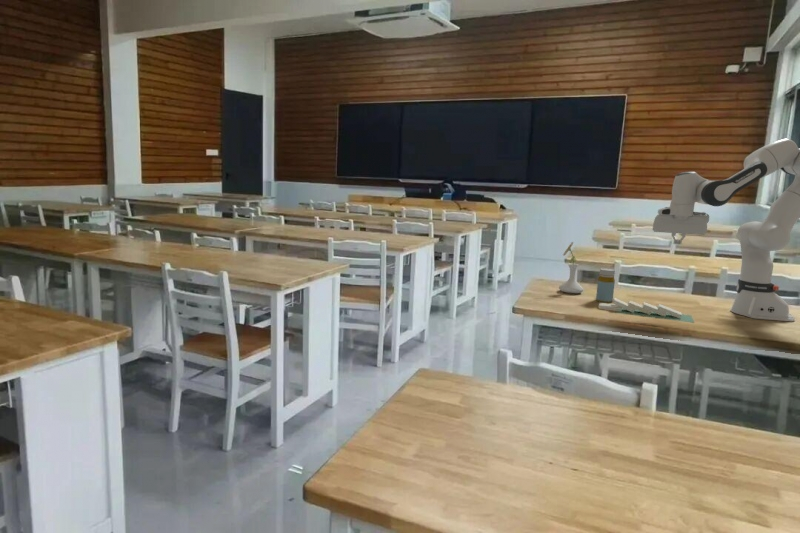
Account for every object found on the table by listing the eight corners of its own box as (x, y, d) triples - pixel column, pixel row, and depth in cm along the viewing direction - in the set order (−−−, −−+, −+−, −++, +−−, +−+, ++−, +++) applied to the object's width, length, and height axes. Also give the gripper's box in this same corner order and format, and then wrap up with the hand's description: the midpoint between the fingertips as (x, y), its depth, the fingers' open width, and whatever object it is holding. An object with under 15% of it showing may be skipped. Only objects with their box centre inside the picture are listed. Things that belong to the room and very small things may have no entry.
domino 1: (635, 306, 222) (614, 297, 225) (635, 309, 218) (614, 299, 220) (633, 310, 223) (612, 300, 225) (633, 312, 218) (612, 303, 221)
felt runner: (691, 316, 217) (691, 315, 217) (694, 324, 206) (694, 322, 206) (615, 307, 229) (615, 306, 228) (614, 313, 218) (614, 312, 218)
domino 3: (665, 310, 218) (643, 301, 220) (666, 313, 213) (644, 304, 216) (664, 314, 218) (642, 305, 221) (664, 316, 213) (642, 307, 216)
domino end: (622, 305, 224) (599, 302, 228) (621, 307, 219) (598, 305, 223) (621, 308, 224) (599, 306, 228) (621, 311, 220) (598, 308, 223)
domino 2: (649, 315, 216) (627, 306, 219) (649, 312, 220) (627, 303, 223) (651, 311, 215) (629, 302, 218) (651, 308, 220) (629, 300, 223)
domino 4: (681, 312, 215) (658, 303, 218) (682, 315, 211) (659, 306, 214) (679, 315, 216) (656, 306, 219) (680, 318, 211) (657, 309, 214)
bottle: (592, 300, 239) (595, 268, 237) (604, 299, 242) (607, 267, 240) (603, 304, 233) (607, 271, 231) (615, 303, 236) (619, 270, 233)
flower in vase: (565, 288, 263) (569, 238, 259) (587, 292, 256) (592, 241, 251) (552, 292, 254) (557, 240, 250) (574, 296, 246) (579, 243, 242)
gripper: (708, 212, 219) (704, 245, 221) (654, 209, 226) (650, 241, 229) (711, 213, 213) (706, 247, 215) (655, 210, 221) (651, 242, 223)
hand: (677, 244), depth 222 cm, fingers closed
